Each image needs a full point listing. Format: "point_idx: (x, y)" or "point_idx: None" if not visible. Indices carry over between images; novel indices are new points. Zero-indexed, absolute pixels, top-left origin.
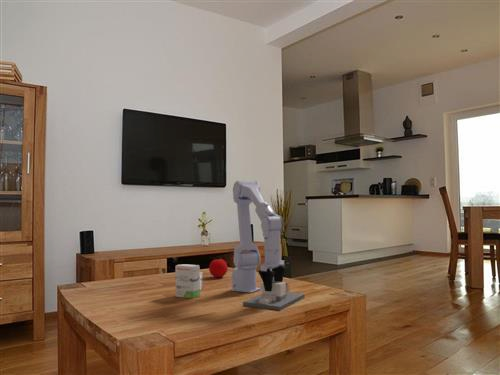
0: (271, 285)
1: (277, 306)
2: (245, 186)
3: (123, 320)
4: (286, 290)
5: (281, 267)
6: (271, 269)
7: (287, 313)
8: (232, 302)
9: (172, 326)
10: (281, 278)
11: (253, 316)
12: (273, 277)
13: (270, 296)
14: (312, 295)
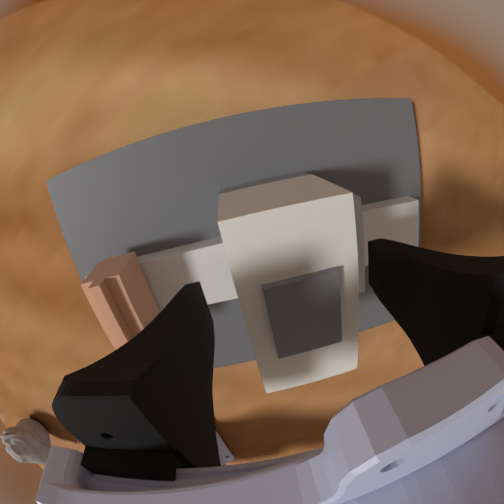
0: (409, 246)
1: (413, 115)
2: None
3: None
4: (133, 260)
5: (161, 436)
6: (33, 460)
7: (410, 50)
8: (379, 362)
9: None
10: (181, 322)
11: (493, 160)
12: (38, 435)
13: (361, 228)
14: (5, 182)
